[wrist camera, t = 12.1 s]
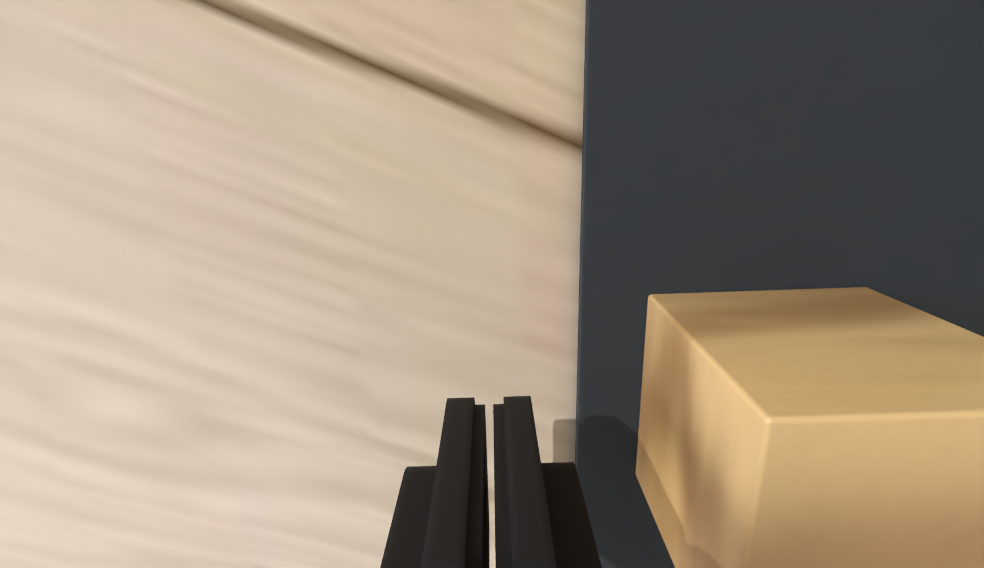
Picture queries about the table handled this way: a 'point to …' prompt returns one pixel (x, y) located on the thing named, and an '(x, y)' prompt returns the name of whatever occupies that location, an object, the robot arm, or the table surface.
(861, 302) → the maple block
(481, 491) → the robot arm
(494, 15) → the table surface
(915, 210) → the mat
